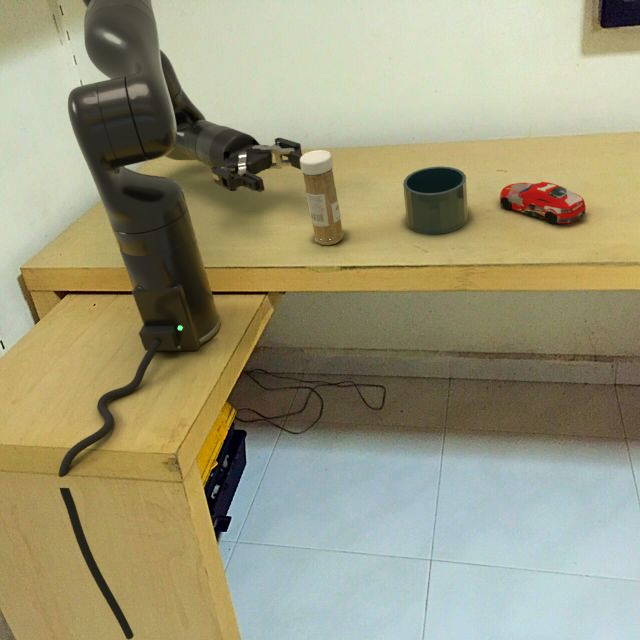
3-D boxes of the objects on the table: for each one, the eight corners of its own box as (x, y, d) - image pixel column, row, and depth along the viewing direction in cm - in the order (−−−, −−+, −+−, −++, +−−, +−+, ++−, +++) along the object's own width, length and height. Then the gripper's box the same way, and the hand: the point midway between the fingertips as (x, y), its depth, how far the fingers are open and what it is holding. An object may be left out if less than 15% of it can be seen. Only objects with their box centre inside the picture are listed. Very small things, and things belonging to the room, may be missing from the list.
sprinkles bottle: (350, 237, 112) (337, 154, 104) (325, 249, 110) (310, 165, 102) (332, 227, 115) (319, 146, 108) (308, 239, 114) (293, 157, 106)
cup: (467, 232, 108) (465, 192, 104) (405, 236, 110) (401, 196, 106) (467, 203, 115) (466, 164, 111) (409, 206, 117) (405, 168, 113)
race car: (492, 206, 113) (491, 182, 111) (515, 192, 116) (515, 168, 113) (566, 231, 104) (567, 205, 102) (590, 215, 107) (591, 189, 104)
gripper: (185, 145, 120) (241, 169, 109) (257, 115, 126) (316, 134, 115) (197, 187, 124) (251, 215, 113) (265, 156, 131) (324, 179, 119)
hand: (284, 174), depth 114 cm, fingers open, 8 cm apart
